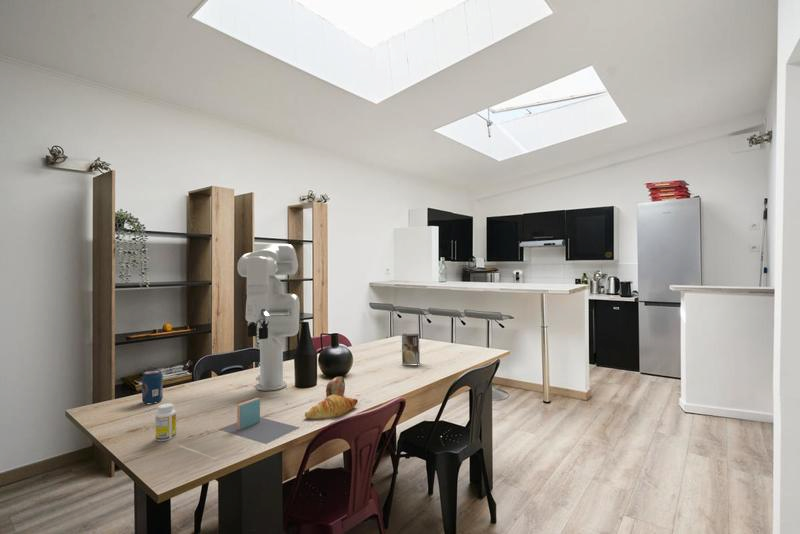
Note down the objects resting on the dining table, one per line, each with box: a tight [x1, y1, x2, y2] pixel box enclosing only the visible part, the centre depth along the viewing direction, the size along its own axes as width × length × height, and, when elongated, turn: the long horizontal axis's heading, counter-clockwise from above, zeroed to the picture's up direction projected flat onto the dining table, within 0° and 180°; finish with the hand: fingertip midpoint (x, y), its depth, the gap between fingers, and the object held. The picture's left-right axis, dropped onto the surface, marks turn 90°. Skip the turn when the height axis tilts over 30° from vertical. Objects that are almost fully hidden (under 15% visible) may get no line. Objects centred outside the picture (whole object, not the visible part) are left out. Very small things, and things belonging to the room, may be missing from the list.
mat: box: [219, 416, 301, 445], centre depth 132 cm, size 22×14×1 cm, turn 60°
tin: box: [325, 376, 346, 398], centre depth 161 cm, size 15×3×8 cm, turn 168°
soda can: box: [141, 369, 164, 405], centre depth 160 cm, size 7×7×12 cm
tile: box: [236, 397, 261, 430], centre depth 135 cm, size 2×8×8 cm, turn 150°
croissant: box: [304, 394, 359, 420], centre depth 146 cm, size 21×10×8 cm, turn 130°
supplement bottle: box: [154, 402, 177, 442], centre depth 126 cm, size 6×6×10 cm
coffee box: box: [401, 333, 421, 365], centre depth 219 cm, size 9×6×16 cm
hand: (257, 337), depth 147 cm, fingers open, 9 cm apart
